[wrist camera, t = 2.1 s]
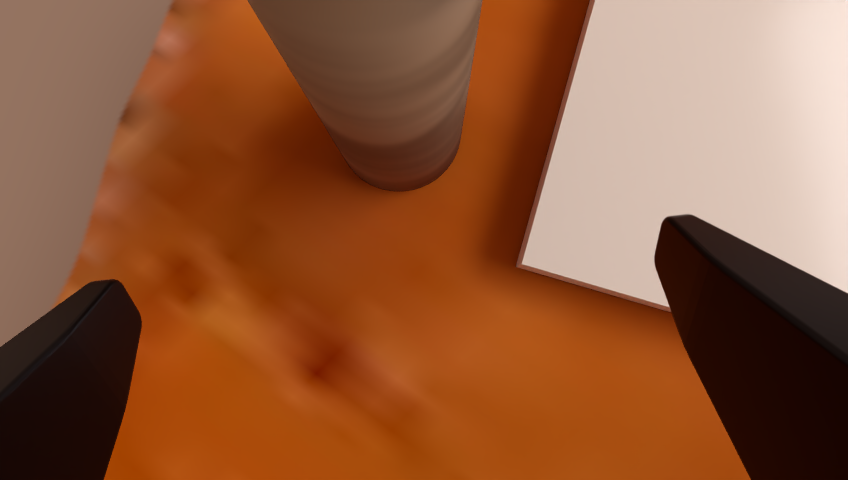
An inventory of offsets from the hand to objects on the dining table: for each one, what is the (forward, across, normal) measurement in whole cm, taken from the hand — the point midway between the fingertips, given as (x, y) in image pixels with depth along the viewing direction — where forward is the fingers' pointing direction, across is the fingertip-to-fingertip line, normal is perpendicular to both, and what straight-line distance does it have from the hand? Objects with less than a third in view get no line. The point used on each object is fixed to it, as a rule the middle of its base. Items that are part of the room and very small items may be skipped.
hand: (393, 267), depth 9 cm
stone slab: (+13, -13, +5) cm, 19 cm away
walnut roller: (+13, 0, +4) cm, 14 cm away
